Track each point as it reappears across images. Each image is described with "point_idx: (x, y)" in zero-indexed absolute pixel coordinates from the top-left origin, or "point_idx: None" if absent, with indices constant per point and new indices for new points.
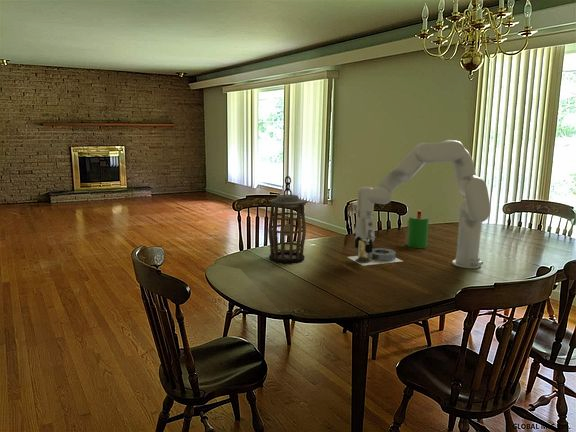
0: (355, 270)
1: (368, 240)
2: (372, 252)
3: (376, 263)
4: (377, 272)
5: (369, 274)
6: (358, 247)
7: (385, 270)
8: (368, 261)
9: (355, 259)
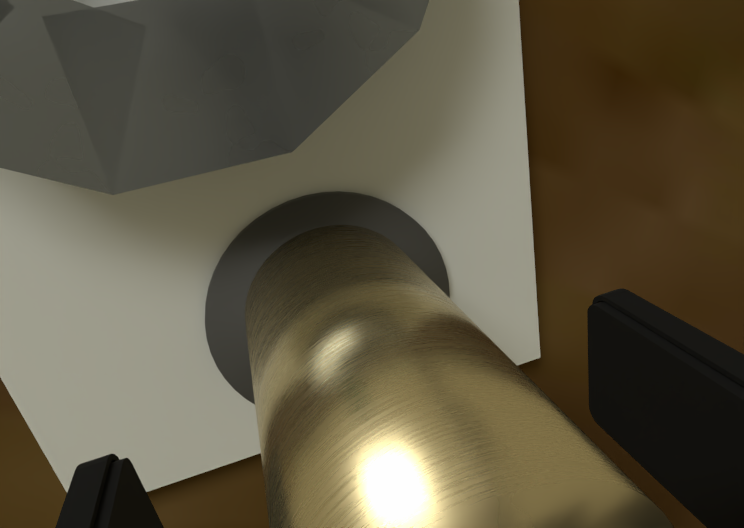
0: (588, 428)
1: (523, 522)
2: (179, 116)
3: (500, 135)
4: (721, 214)
5: (737, 316)
6: (146, 513)
7: (699, 80)
8: (410, 245)
9: (240, 406)
